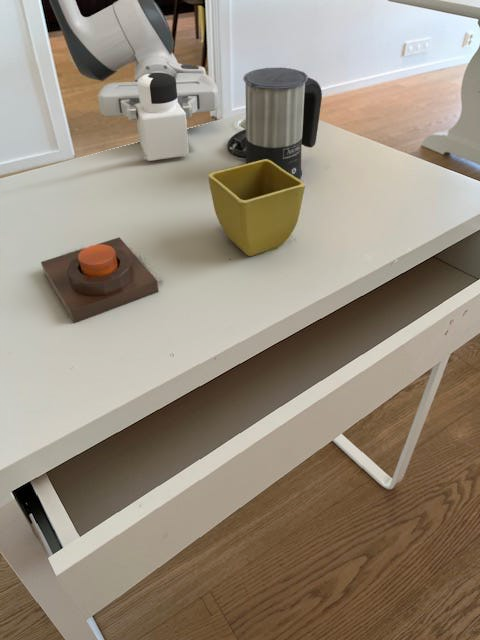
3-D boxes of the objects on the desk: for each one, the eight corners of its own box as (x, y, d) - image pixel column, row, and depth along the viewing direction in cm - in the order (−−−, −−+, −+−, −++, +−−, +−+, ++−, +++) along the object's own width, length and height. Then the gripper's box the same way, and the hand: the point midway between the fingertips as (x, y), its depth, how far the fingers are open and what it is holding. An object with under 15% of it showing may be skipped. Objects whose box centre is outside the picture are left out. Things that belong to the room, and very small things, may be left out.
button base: (44, 273, 62) (36, 249, 60) (121, 248, 66) (117, 224, 64) (74, 323, 55) (66, 298, 52) (158, 292, 59) (155, 267, 56)
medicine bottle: (179, 140, 91) (173, 67, 83) (189, 155, 86) (183, 80, 78) (139, 145, 89) (129, 71, 81) (147, 161, 84) (137, 85, 76)
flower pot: (209, 236, 68) (206, 172, 62) (266, 219, 71) (267, 157, 65) (242, 270, 62) (241, 202, 56) (302, 249, 65) (307, 184, 59)
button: (76, 264, 58) (73, 251, 57) (109, 253, 59) (107, 240, 58) (88, 282, 55) (85, 268, 54) (123, 270, 57) (120, 257, 56)
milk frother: (285, 194, 76) (291, 90, 67) (197, 172, 82) (190, 73, 73) (322, 159, 86) (332, 63, 76) (241, 141, 92) (240, 50, 82)
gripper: (97, 71, 90) (90, 96, 79) (212, 66, 92) (221, 90, 82) (103, 108, 94) (98, 136, 84) (214, 102, 96) (222, 129, 86)
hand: (160, 113), depth 83 cm, fingers closed on medicine bottle, 7 cm apart
